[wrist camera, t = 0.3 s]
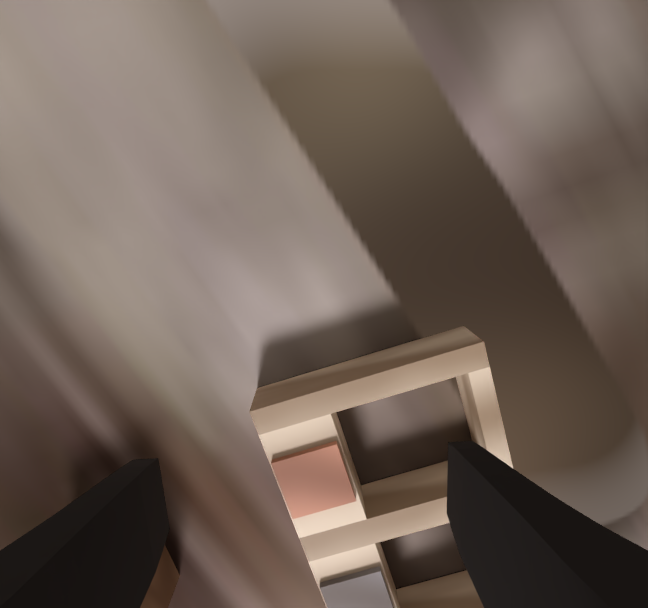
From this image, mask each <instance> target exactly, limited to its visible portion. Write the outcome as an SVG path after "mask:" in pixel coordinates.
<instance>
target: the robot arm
mask: <svg viewBox="0 0 648 608" xmlns="http://www.w3.org/2000/svg"><path fill="white" fill-rule="evenodd" d="M447 516H448V519H449V522H450V525H451V529H452V532H453V535H454V538H455V541H456V544H457V547H458V550H459V553H460V556H461V558H462V560H463V562H464V565H465V567H466V569H467V571H468V574H469V576H470V578H471V580H472V582H473V585H474V587H475V589H476V591H477V593H478V596H479V598H480V600H481V602H482V604H483V607H484V608H648V550H646V549H644V548H642V547H640V546H638V545H636V544H635V543H633V542H631V541H629V540H627V539H625V538H623V537H621V536H620V535H618V534H616V533H614V532H612V531H610V530H609V529H607V528H605V527H603V526H602V525H600V524H598V523H596V522H595V521H593V520H591V519H590V518H588V517H587V516H585V515H583V514H582V513H580V512H578V511H577V510H575V509H573V508H572V507H570V506H568V505H567V504H565V503H564V502H562V501H560V500H559V499H557V498H556V497H554V496H553V495H551V494H550V493H548V492H547V491H545V490H544V489H542V488H541V487H539V486H538V485H536V484H535V483H533V482H532V481H530V480H529V479H527V478H526V477H524V476H523V475H522V474H520V473H519V472H517V471H516V470H514V469H513V468H512V467H510V466H509V465H507V464H506V463H504V462H503V461H502V460H500V459H499V458H497V457H496V456H495V455H493V454H492V453H490V452H489V451H487V450H486V449H484V448H483V447H481V446H480V445H478V444H477V443H475V442H474V441H462V442H448V474H447ZM169 529H170V528H169V522H168V516H167V510H166V503H165V497H164V491H163V485H162V479H161V472H160V466H159V460H158V458H156V459H138V460H132V461H131V462H129V463H127V464H126V465H124V466H123V467H121V468H120V469H118V470H117V471H115V472H114V473H112V474H111V475H110V476H108V477H107V478H105V479H104V480H102V481H101V482H100V483H98V484H97V485H95V486H94V487H93V488H91V489H90V490H88V491H87V492H86V493H84V494H83V495H81V496H80V497H79V498H77V499H76V500H74V501H73V502H72V503H70V504H69V505H67V506H66V507H64V508H63V509H62V510H60V511H59V512H57V513H56V514H55V515H53V516H52V517H50V518H49V519H47V520H46V521H44V522H43V523H41V524H40V525H38V526H37V527H35V528H34V529H32V530H31V531H29V532H28V533H26V534H25V535H23V536H22V537H20V538H19V539H17V540H16V541H14V542H13V543H11V544H10V545H8V546H7V547H5V548H4V549H2V550H0V608H140V607H141V604H142V602H143V600H144V598H145V595H146V593H147V591H148V589H149V587H150V584H151V582H152V580H153V577H154V575H155V573H156V570H157V567H158V564H159V561H160V558H161V555H162V552H163V549H164V545H165V542H166V539H167V536H168V532H169Z"/></svg>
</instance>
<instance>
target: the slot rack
mask: <svg viewBox="0 0 648 608" xmlns="http://www.w3.org/2000/svg"><path fill="white" fill-rule="evenodd" d="M453 377H456V379H457V383H458V387H459V391H460V395H461V399H462V403H463V407H464V411H465V415H466V419H467V422H468V426H469V430H470V434H471V438H472V441H474V442H475V443H477V444H478V445H480V446H481V447H483V448H484V449H486V450H487V451H489V452H490V453H492V454H493V455H495V456H496V457H497V458H499V459H500V460H502V461H503V462H504V463H506V464H507V465H509V466H510V467H512V468H513V465H512V461H511V456H510V452H509V448H508V443H507V439H506V435H505V430H504V426H503V422H502V417H501V413H500V409H499V404H498V400H497V396H496V391H495V387H494V383H493V378H492V374H491V370H490V365H489V361H488V357H487V353H486V348H485V344H484V341H483V340H481V339H480V338H479V337H477V336H476V335H475V334H474V333H472V332H471V331H470V330H468V329H467V328H466V327H465V326H461V327H458V328H454V329H451V330H448V331H445V332H441V333H438V334H435V335H431V336H428V337H425V338H421V339H418V340H415V341H411V342H408V343H405V344H401V345H398V346H395V347H392V348H388V349H385V350H382V351H378V352H375V353H372V354H368V355H365V356H362V357H358V358H355V359H352V360H349V361H345V362H342V363H339V364H335V365H332V366H329V367H325V368H322V369H319V370H315V371H312V372H309V373H306V374H302V375H299V376H296V377H292V378H289V379H286V380H282V381H279V382H276V383H272V384H269V385H266V386H263V387H259V388H257V390H256V393H255V396H254V399H253V402H252V406H251V409H250V414H251V417H252V420H253V422H254V425H255V427H256V430H257V432H258V435H259V437H260V440H261V442H262V445H263V448H264V450H265V453H266V455H267V458H268V460H269V463H270V465H271V468H272V470H273V473H274V476H275V478H276V481H277V483H278V486H279V488H280V491H281V493H282V496H283V498H284V501H285V504H286V506H287V509H288V511H289V514H290V516H291V519H292V521H293V524H294V526H295V529H296V531H297V534H298V537H299V539H300V542H301V544H302V547H303V549H304V552H305V554H306V557H307V559H308V562H309V565H310V567H311V570H312V572H313V575H314V577H315V580H316V582H317V585H318V587H319V590H320V593H321V595H322V598H323V600H324V603H325V605H326V608H484V607H483V604H482V602H481V600H480V598H479V596H478V593H477V591H476V589H475V587H474V585H473V582H472V580H471V578H470V576H469V574H468V571H467V570H466V571H462V572H458V573H454V574H451V575H447V576H443V577H440V578H436V579H432V580H429V581H425V582H421V583H418V584H414V585H410V586H407V587H403V588H399V589H396V588H395V585H394V582H393V579H392V576H391V573H390V570H389V567H388V564H387V561H386V558H385V555H384V552H383V549H382V546H381V543H380V542H382V541H386V540H389V539H393V538H396V537H400V536H404V535H407V534H411V533H414V532H418V531H422V530H425V529H429V528H432V527H436V526H440V525H443V524H447V523H450V522H449V519H448V516H447V474H448V461H444V462H441V463H437V464H434V465H430V466H427V467H423V468H420V469H416V470H413V471H409V472H406V473H402V474H399V475H395V476H392V477H388V478H385V479H381V480H378V481H374V482H371V483H367V484H364V485H361V484H360V481H359V478H358V475H357V472H356V469H355V466H354V463H353V460H352V457H351V454H350V451H349V448H348V445H347V442H346V439H345V436H344V433H343V430H342V427H341V424H340V421H339V418H338V415H337V412H339V411H342V410H345V409H349V408H352V407H356V406H359V405H362V404H366V403H369V402H372V401H376V400H379V399H383V398H386V397H389V396H393V395H396V394H399V393H403V392H406V391H410V390H413V389H416V388H420V387H423V386H426V385H430V384H433V383H437V382H440V381H443V380H447V379H450V378H453Z"/></svg>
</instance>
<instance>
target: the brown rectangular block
mask: <svg viewBox="0 0 648 608" xmlns="http://www.w3.org/2000/svg"><path fill="white" fill-rule="evenodd" d="M179 576H180V575H179V573H178V571H177V569H176V567H175V565H174V563H173V561H172V558H171V556H170V554H169V552H168V550H167V548H166V546H165V545H164V549H163V552H162V555H161V558H160V561H159V564H158V567H157V570H156V573H155V575H154V577H153V580H152V582H151V584H150V587H149V589H148V591H147V593H146V595H145V598H144V600H143V602H142V604H141V607H140V608H168V606H169V603H170V600H171V598H172V595H173V592H174V590H175V587H176V584H177V582H178V579H179Z"/></svg>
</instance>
